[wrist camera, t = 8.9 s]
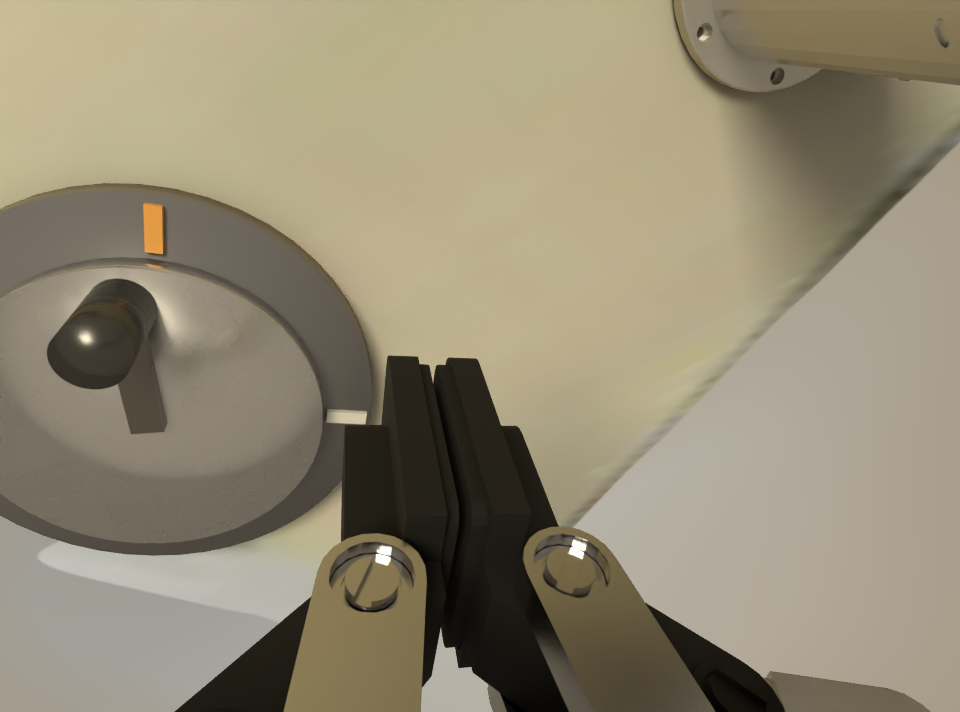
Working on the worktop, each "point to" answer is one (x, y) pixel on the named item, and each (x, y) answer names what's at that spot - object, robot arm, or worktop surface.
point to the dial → (150, 401)
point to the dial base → (220, 251)
